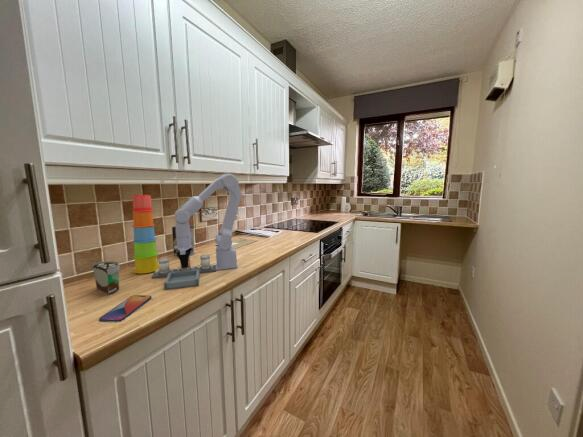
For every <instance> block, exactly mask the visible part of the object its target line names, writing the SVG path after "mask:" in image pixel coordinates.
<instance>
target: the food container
mask: <svg viewBox="0 0 583 437" xmlns="http://www.w3.org/2000/svg"><path fill="white" fill-rule="evenodd" d="M92 269H93V275H94V280H95V281H94V282H95V285H96V286H95V287H96V290H97V291H99V292H101V293H104V294H106V295H108V296H111V295H113V294H115V293H117V292H118V291H119V290H120V276H119V275H120V272H119V271H120V270H121V269H122V268H121V266H120V264H119V262H118V261H113V260H112V261H110V260H108V261H100V262H99V261H98V262H93V263H92Z"/></svg>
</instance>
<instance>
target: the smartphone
mask: <svg viewBox="0 0 583 437" xmlns="http://www.w3.org/2000/svg"><path fill="white" fill-rule="evenodd" d="M150 300H152V295H146V294H145V295H143V294H142V295H141V294H140V295H139V294H137V295H135V294H134V295H131V296H130V297H128V298H126V299H125V300H124V301H122V302H121V303H119V304H118V305H116V306H115V307H113V308H112V309H110V310H108V311H107V312H105V313H104V314H103V315H101V316H100V317H99V318H98V320H99V322H107V321H109V322H110V321H116V322H115V323H118V322H117V321H120V322H122V320H123V321H125V320H126V319H127V318H128V317H130V316H131V315H132V314H134V313H135V312H136V311H137V310H139V309H140V308H142V307H143V306H144V305H145V304H146V303H148V302H149V301H150ZM126 317H127V318H126ZM125 318H126V319H125Z"/></svg>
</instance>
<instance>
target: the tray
mask: <svg viewBox="0 0 583 437" xmlns="http://www.w3.org/2000/svg"><path fill="white" fill-rule="evenodd" d="M200 275H201V273H199V269H196V270H187V271H177V272H169V273H168V276H167V277H165V281H164V283H163V285H164V288H163V289H164V291H166V290H167V291H168V290H175V289H183V288H191V287H199V283H200Z"/></svg>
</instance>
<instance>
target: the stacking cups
mask: <svg viewBox="0 0 583 437" xmlns="http://www.w3.org/2000/svg"><path fill="white" fill-rule="evenodd" d="M132 207H133V208H132V209H133V210H132V211H131V212H132V216H133V225H131V226H132V227H133V237H134V238H133V240H132V243H133V247H134V248H133V250H134V254H133V256H132V257H133V258H134V266H135V267H134V268H135V269H134V270H133V273H135V274H139V275H142V274H149V273H154V272H155V271H156V270H159V261H158V255H159V253H158V251H157V244H156V240H157V238H156V235H155V223H154V216H153V211H154V209H153V206H152V196H151V194H136V195H135V194H133V196H132Z"/></svg>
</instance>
